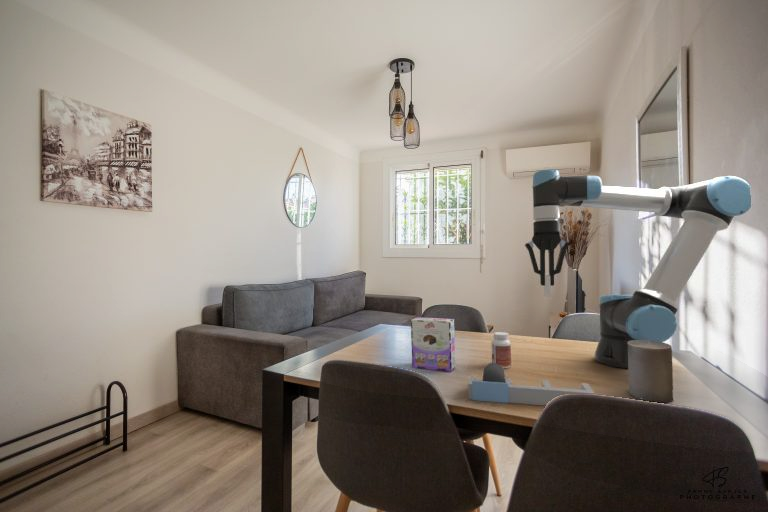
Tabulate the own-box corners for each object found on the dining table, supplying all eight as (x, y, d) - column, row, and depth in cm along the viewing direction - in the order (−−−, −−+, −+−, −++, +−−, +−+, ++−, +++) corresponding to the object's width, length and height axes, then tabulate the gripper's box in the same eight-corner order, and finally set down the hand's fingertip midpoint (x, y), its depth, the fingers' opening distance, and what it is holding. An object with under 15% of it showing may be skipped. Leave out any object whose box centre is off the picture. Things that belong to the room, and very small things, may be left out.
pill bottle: (515, 366, 126) (514, 333, 126) (502, 370, 123) (502, 336, 123) (500, 362, 132) (499, 330, 132) (488, 365, 128) (487, 333, 128)
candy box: (455, 367, 127) (455, 318, 127) (451, 372, 122) (450, 321, 122) (417, 362, 133) (416, 316, 133) (411, 367, 128) (410, 319, 128)
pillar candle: (679, 396, 99) (677, 339, 99) (664, 406, 93) (663, 345, 93) (637, 386, 107) (636, 333, 107) (621, 394, 101) (620, 338, 101)
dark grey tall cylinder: (480, 377, 113) (488, 359, 112) (499, 386, 112) (507, 368, 111) (478, 392, 102) (487, 372, 101) (500, 402, 100) (509, 382, 99)
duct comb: (588, 398, 99) (587, 379, 98) (595, 410, 91) (595, 389, 91) (470, 389, 107) (469, 371, 107) (468, 399, 100) (468, 380, 100)
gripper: (566, 220, 120) (567, 295, 120) (523, 222, 123) (524, 294, 124) (571, 218, 113) (572, 297, 113) (525, 220, 116) (526, 297, 117)
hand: (547, 296), depth 118 cm, fingers closed
